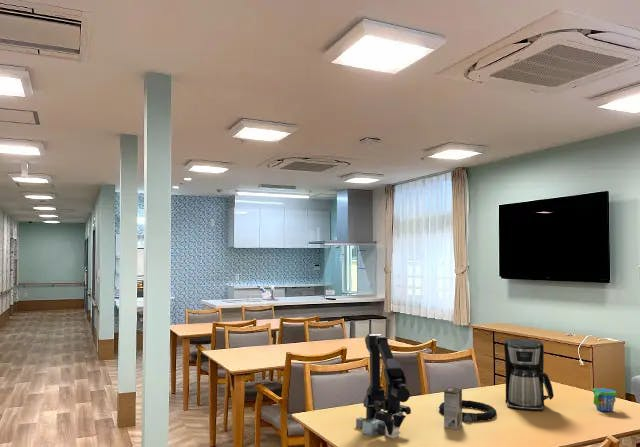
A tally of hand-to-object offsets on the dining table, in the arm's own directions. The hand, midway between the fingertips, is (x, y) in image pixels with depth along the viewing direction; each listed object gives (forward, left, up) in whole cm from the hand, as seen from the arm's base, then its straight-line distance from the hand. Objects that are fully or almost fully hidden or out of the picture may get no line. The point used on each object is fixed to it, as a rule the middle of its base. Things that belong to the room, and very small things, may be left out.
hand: (393, 433), depth 227 cm
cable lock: (+6, +55, -2) cm, 55 cm away
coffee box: (+11, +32, -1) cm, 34 cm away
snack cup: (+52, +114, -1) cm, 125 cm away
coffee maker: (+20, +97, -1) cm, 99 cm away
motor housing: (-8, 0, -1) cm, 9 cm away
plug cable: (-8, 0, -1) cm, 8 cm away
